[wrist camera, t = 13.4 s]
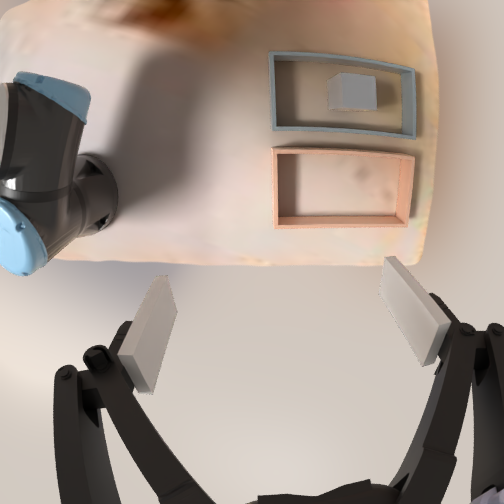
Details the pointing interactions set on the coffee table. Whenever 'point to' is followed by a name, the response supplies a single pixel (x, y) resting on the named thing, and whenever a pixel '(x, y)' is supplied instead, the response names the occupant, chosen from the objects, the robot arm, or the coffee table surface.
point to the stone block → (352, 92)
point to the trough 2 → (347, 221)
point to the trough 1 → (406, 73)
